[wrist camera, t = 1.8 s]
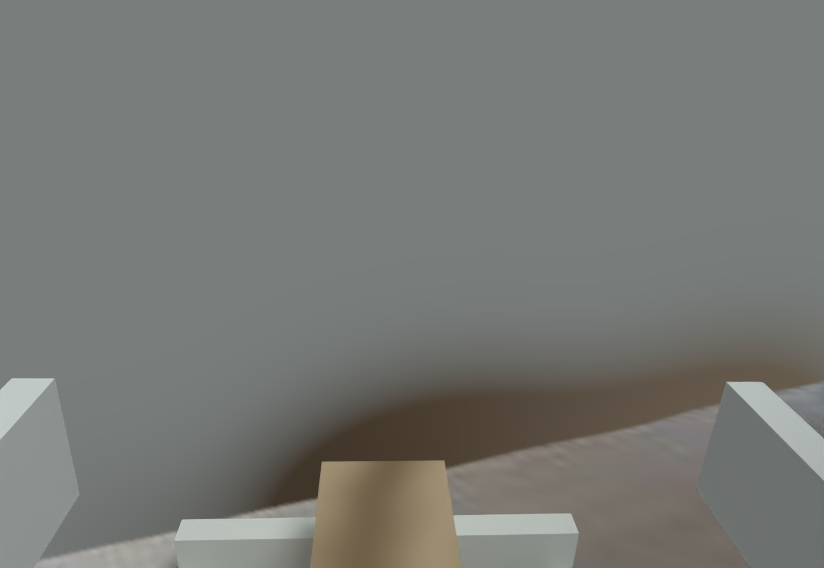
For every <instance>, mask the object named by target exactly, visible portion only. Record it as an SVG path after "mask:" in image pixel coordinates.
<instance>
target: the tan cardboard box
mask: <svg viewBox="0 0 824 568" xmlns="http://www.w3.org/2000/svg"><path fill="white" fill-rule="evenodd" d="M310 568H462V566H461V560H460V554H459V548H458V541H457V535H456V529H455V523H454V517H453V511H452V505H451V499H450V493H449V487H448V481H447V474H446V468H445V462H444V461H366V462H365V461H361V462H360V461H359V462H322V467H321V476H320V485H319V493H318V502H317V511H316V520H315V529H314V538H313V546H312V555H311V564H310Z"/></svg>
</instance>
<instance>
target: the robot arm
mask: <svg viewBox="0 0 824 568" xmlns="http://www.w3.org/2000/svg"><path fill="white" fill-rule="evenodd" d="M696 490H697V491H698V493H699V494H700V496H701V497H702V498H703V500H704V501H705V503H706V504H707V506H708V507H709V509H710V510H711V511H712V513H713V514H714V516H715V517H716V519H717V520H718V521H719V523H720V524H721V526H722V527H723V529H724V530H725V532H726V533H727V534H728V536H729V537H730V539H731V540H732V542H733V543H734V545H735V546H736V547H737V549H738V550H739V552H740V553H741V555H742V556H743V558H744V559H745V560H746V562H747V563H748V565H749V566H750V568H824V438H823V437H821V436H820V435H819V434H818V433H817V432H816V431H815V430H814V429H813V428H812V427H811V426H810V425H808V424H807V423H806V422H805V421H804V420H803V419H802V418H801V417H800V416H799V415H798V414H797V413H795V412H794V411H793V410H792V409H791V408H790V407H789V406H788V405H787V404H786V403H785V402H784V401H782V400H781V399H780V398H779V397H778V396H777V395H776V394H775V393H774V392H773V391H772V390H770V389H769V388H768V387H767V386H766V385H765V384H764V383H763V382H726V385H725V389H724V392H723V396H722V399H721V403H720V406H719V410H718V413H717V417H716V421H715V424H714V428H713V431H712V435H711V438H710V442H709V445H708V449H707V452H706V456H705V459H704V463H703V466H702V470H701V473H700V477H699V480H698V484H697V488H696ZM78 496H79V490H78V485H77V481H76V476H75V471H74V467H73V462H72V457H71V453H70V448H69V443H68V439H67V434H66V429H65V425H64V420H63V415H62V411H61V406H60V401H59V397H58V392H57V387H56V383H55V379H28V378H26V379H25V378H23V379H19V378H12V379H11V380H10V381H9V382H8V383H7V384H6V385H5V386H4V387H3V388H2V389H1V390H0V568H34V567H35V565H36V563H37V562H38V560H39V559H40V557H41V555H42V554H43V552H44V550H45V549H46V547H47V546H48V544H49V542H50V541H51V539H52V537H53V536H54V534H55V533H56V531H57V530H58V528H59V526H60V525H61V523H62V521H63V520H64V518H65V517H66V515H67V513H68V512H69V510H70V508H71V507H72V505H73V504H74V502H75V500H76V499H77V497H78Z"/></svg>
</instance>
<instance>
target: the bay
mask: <svg viewBox="0 0 824 568" xmlns="http://www.w3.org/2000/svg"><path fill="white" fill-rule="evenodd" d="M453 517H454V523H455V529H456V535H457V541H458V548H459V554H460V560H461V566H462V568H572V567H573V562H574V556H575V551H576V546H577V541H578V535H579V532H578V530H577V527H576V525H575V523H574V520H573V518H572V515H571V514H508V515H453ZM315 520H316V518H254V519H197V520H194V519H191V520H182V522H181V524H180V527H179V529H178V532H177V535H176V537H175V540H174V543H175V549H176V556H177V563H178V568H310V564H311V555H312V546H313V538H314V529H315Z"/></svg>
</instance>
